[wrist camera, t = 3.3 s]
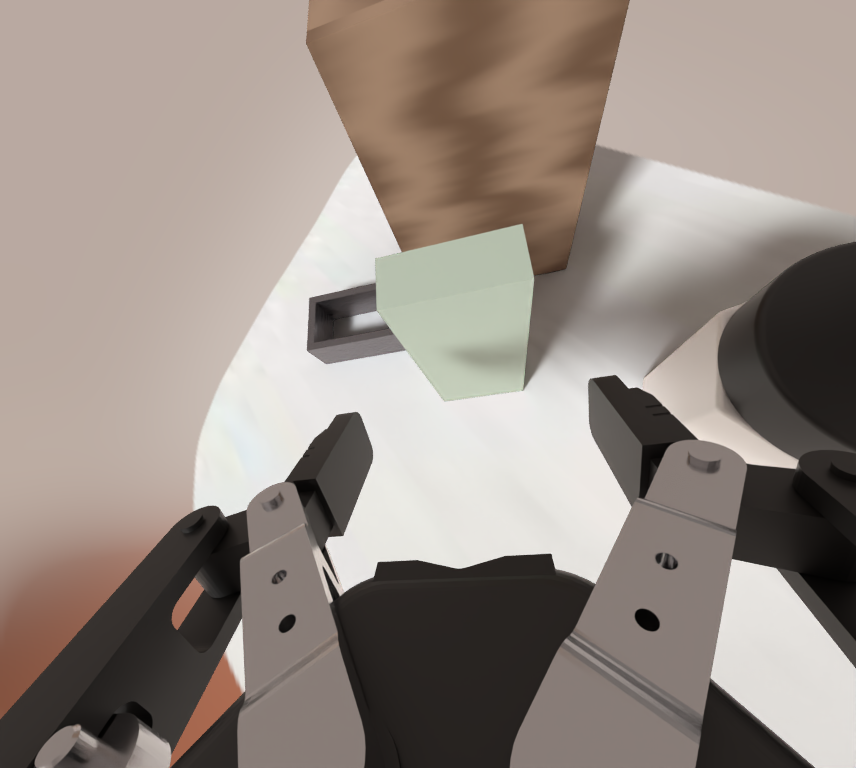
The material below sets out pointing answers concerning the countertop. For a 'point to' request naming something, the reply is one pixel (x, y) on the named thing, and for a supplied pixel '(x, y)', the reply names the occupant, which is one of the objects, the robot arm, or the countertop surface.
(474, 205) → the cabinet
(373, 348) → the dark grey rectangular frame
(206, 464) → the countertop surface
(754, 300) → the jar
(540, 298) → the countertop surface
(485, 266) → the sage green block
